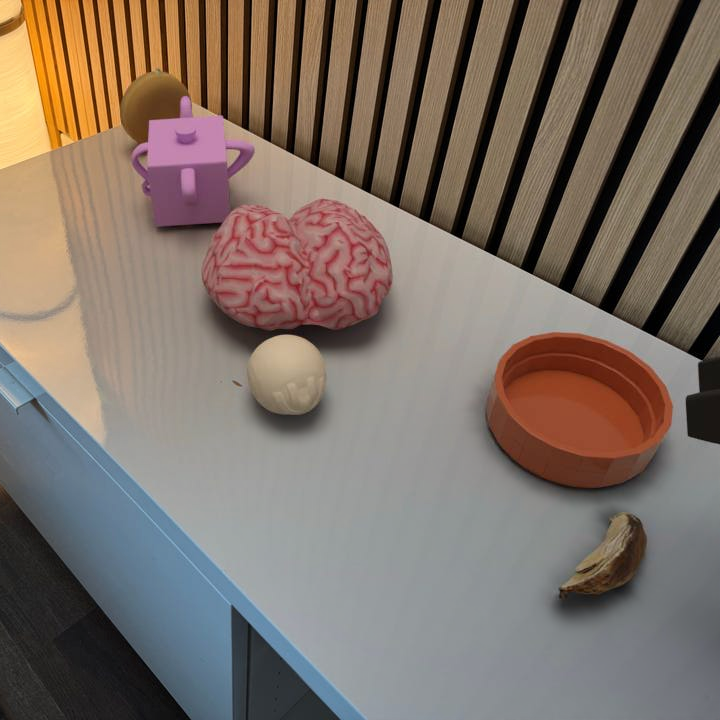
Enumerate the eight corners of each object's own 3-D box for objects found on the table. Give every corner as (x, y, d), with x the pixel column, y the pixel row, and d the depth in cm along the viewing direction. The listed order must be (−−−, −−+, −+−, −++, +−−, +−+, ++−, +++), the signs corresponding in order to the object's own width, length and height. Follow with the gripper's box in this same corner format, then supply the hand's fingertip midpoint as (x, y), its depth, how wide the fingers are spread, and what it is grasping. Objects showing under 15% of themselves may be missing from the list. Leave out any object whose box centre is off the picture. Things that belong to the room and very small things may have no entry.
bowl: (658, 393, 67) (678, 358, 64) (644, 514, 58) (666, 481, 55) (502, 351, 71) (513, 316, 68) (468, 458, 63) (479, 424, 60)
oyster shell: (585, 572, 60) (569, 629, 51) (561, 530, 60) (541, 579, 52) (662, 548, 57) (658, 604, 48) (636, 503, 57) (628, 551, 49)
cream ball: (269, 443, 65) (268, 391, 60) (237, 385, 69) (234, 333, 65) (340, 419, 66) (344, 366, 61) (304, 364, 71) (306, 311, 66)
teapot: (141, 164, 96) (130, 89, 89) (249, 157, 97) (247, 81, 89) (136, 251, 84) (123, 171, 77) (261, 243, 84) (259, 163, 77)
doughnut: (185, 127, 103) (177, 55, 95) (198, 139, 100) (192, 65, 93) (122, 149, 99) (110, 75, 92) (135, 161, 97) (124, 87, 90)
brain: (364, 232, 85) (372, 152, 78) (407, 344, 72) (421, 262, 65) (197, 249, 84) (189, 170, 77) (211, 365, 71) (204, 284, 64)
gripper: (1006, 284, 39) (700, 303, 47) (1102, 343, 28) (675, 355, 36) (1004, 415, 40) (705, 412, 48) (1095, 524, 29) (684, 496, 37)
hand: (693, 396), depth 42 cm, fingers open, 7 cm apart
